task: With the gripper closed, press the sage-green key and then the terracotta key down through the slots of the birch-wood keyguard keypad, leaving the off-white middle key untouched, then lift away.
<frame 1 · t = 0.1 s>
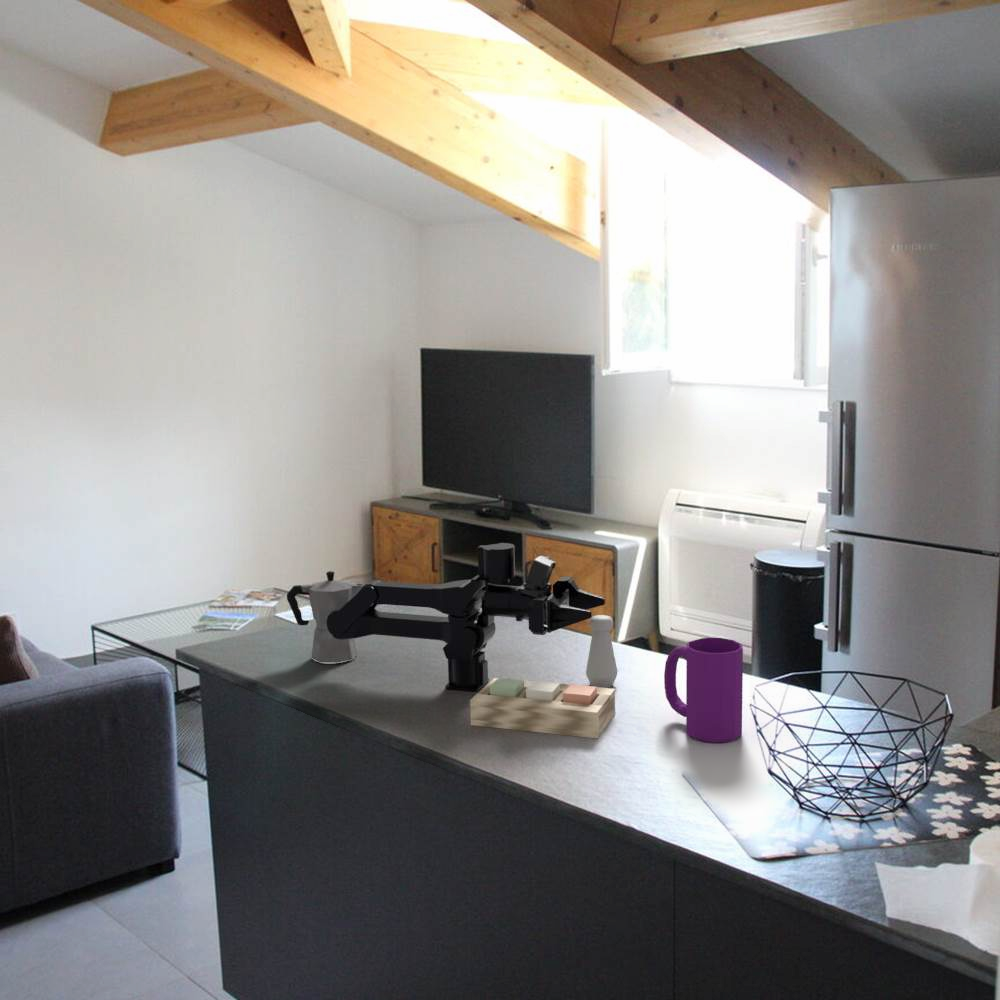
hand: (598, 608, 204), 17 cm above the worktop, tool horizontal, fingers open, 9 cm apart
salt shaker: (601, 685, 214), on the worktop
sage key: (507, 692, 199), point 4 cm above the worktop, slide at 0.0 cm
middle key: (543, 696, 196), point 4 cm above the worktop, slide at 0.0 cm
keypad: (543, 719, 197), on the worktop
coffeepot: (329, 659, 234), on the worktop
terracotta key: (580, 699, 194), point 4 cm above the worktop, slide at 0.0 cm
mug: (699, 729, 191), on the worktop
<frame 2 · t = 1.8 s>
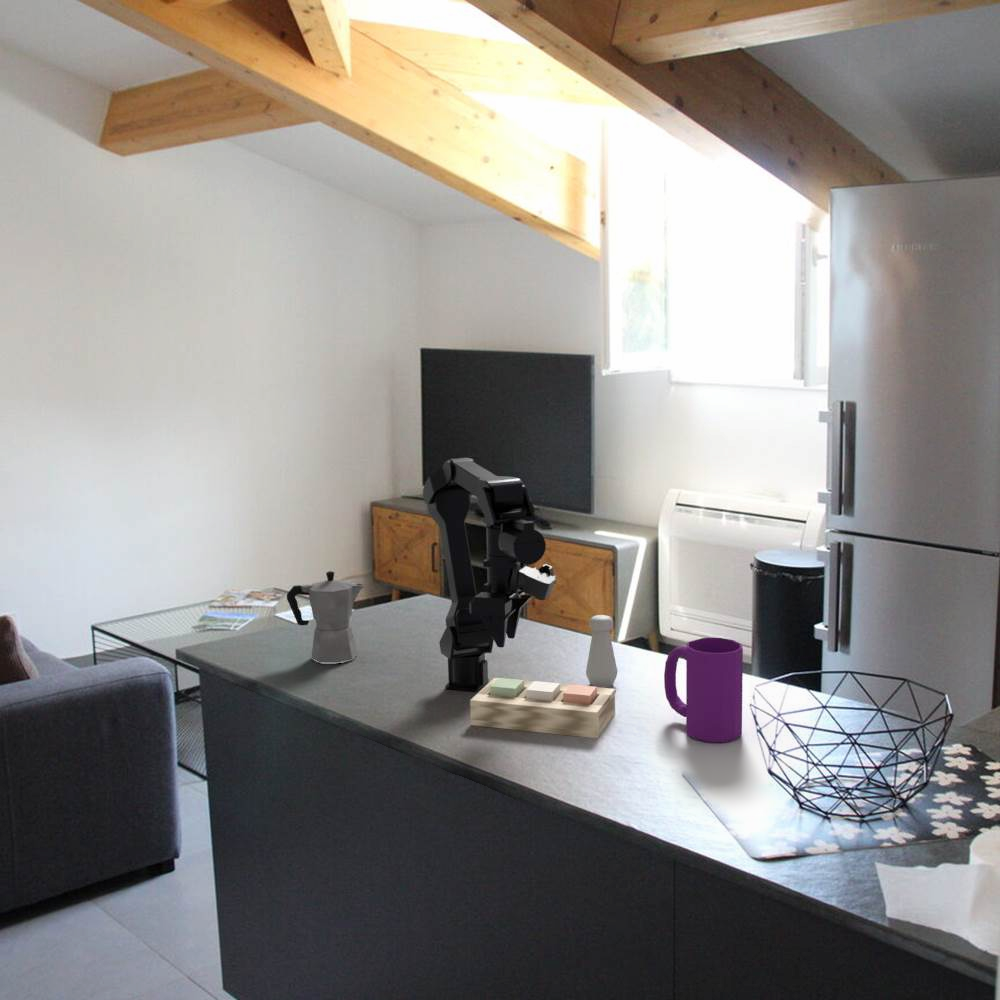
hand: (506, 642, 197), 13 cm above the worktop, tool pointing down, fingers open, 5 cm apart
nothing on the worktop moved.
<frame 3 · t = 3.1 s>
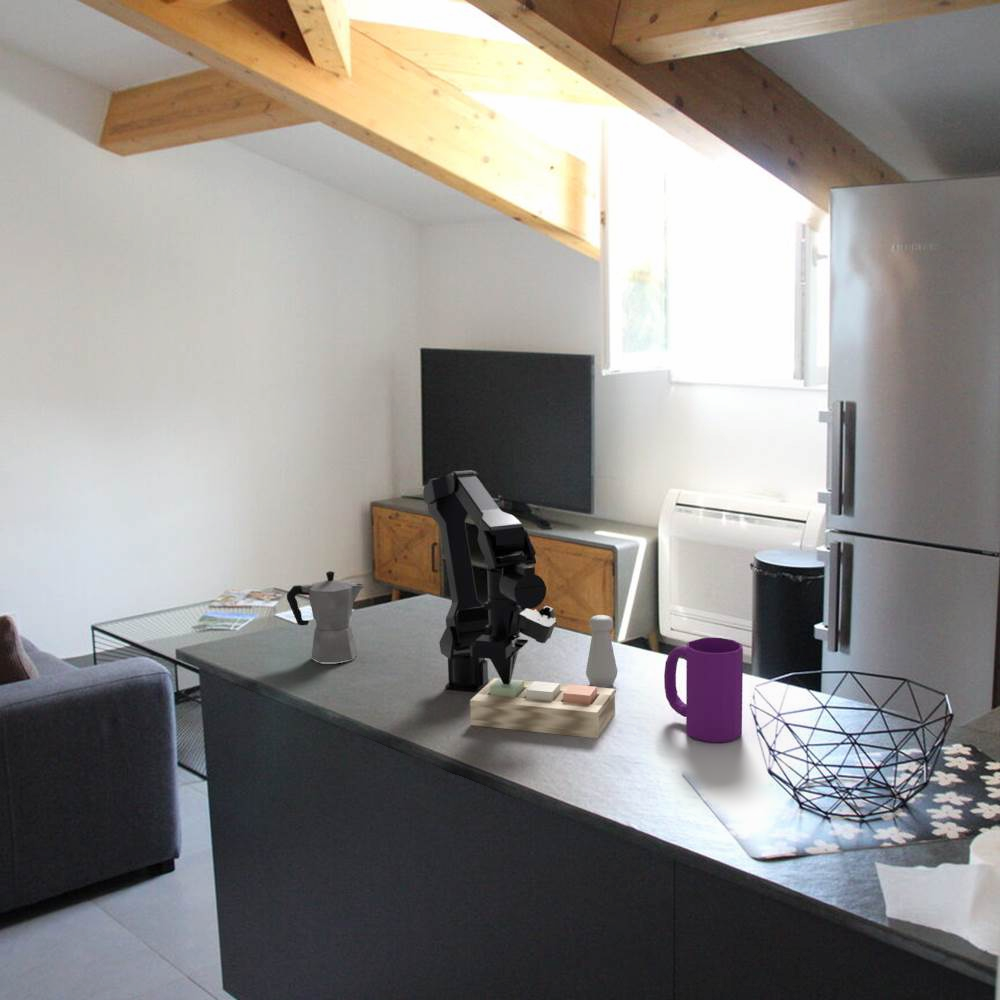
hand: (506, 683, 198), 6 cm above the worktop, tool pointing down, fingers closed, pressing on sage key
sage key: (507, 693, 199), point 4 cm above the worktop, slide at 0.1 cm, touching gripper
everything else where it was.
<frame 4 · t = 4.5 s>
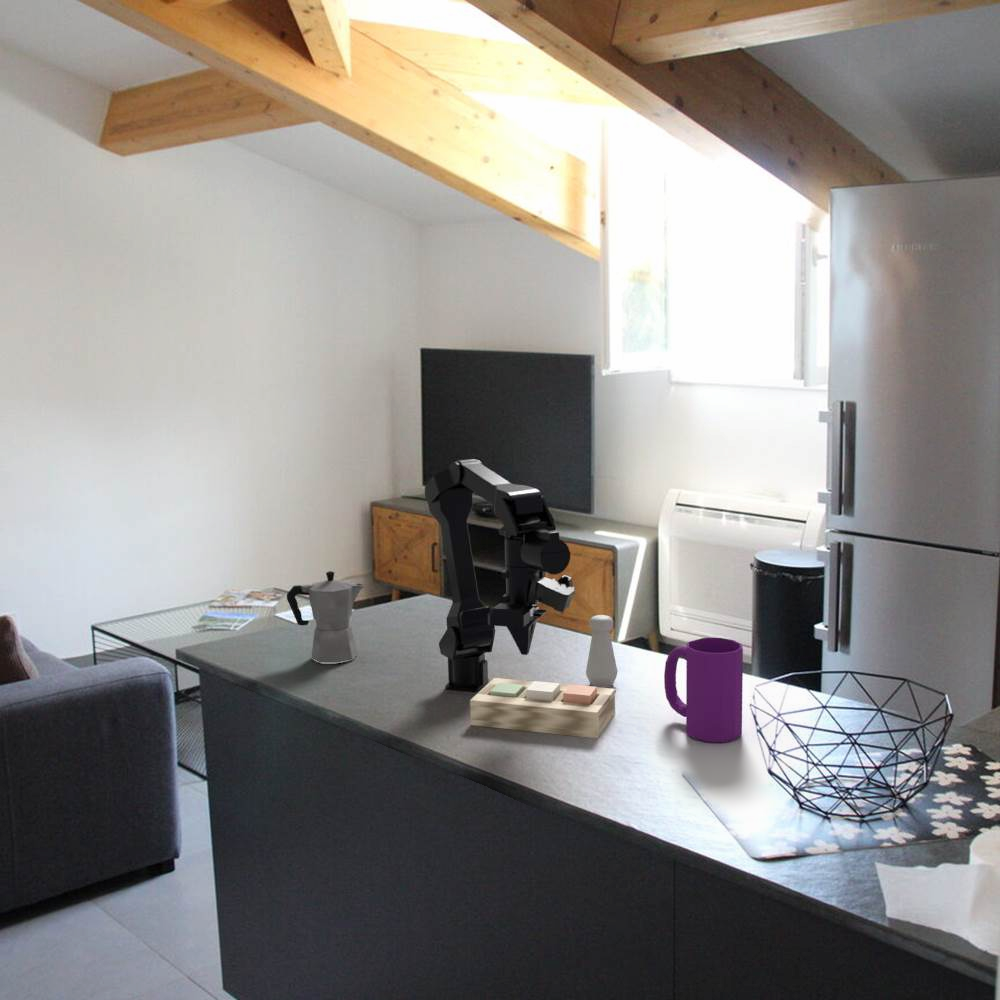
hand: (525, 654, 196), 11 cm above the worktop, tool pointing down, fingers closed
sage key: (507, 697, 199), point 3 cm above the worktop, slide at 0.9 cm
everything else where it was.
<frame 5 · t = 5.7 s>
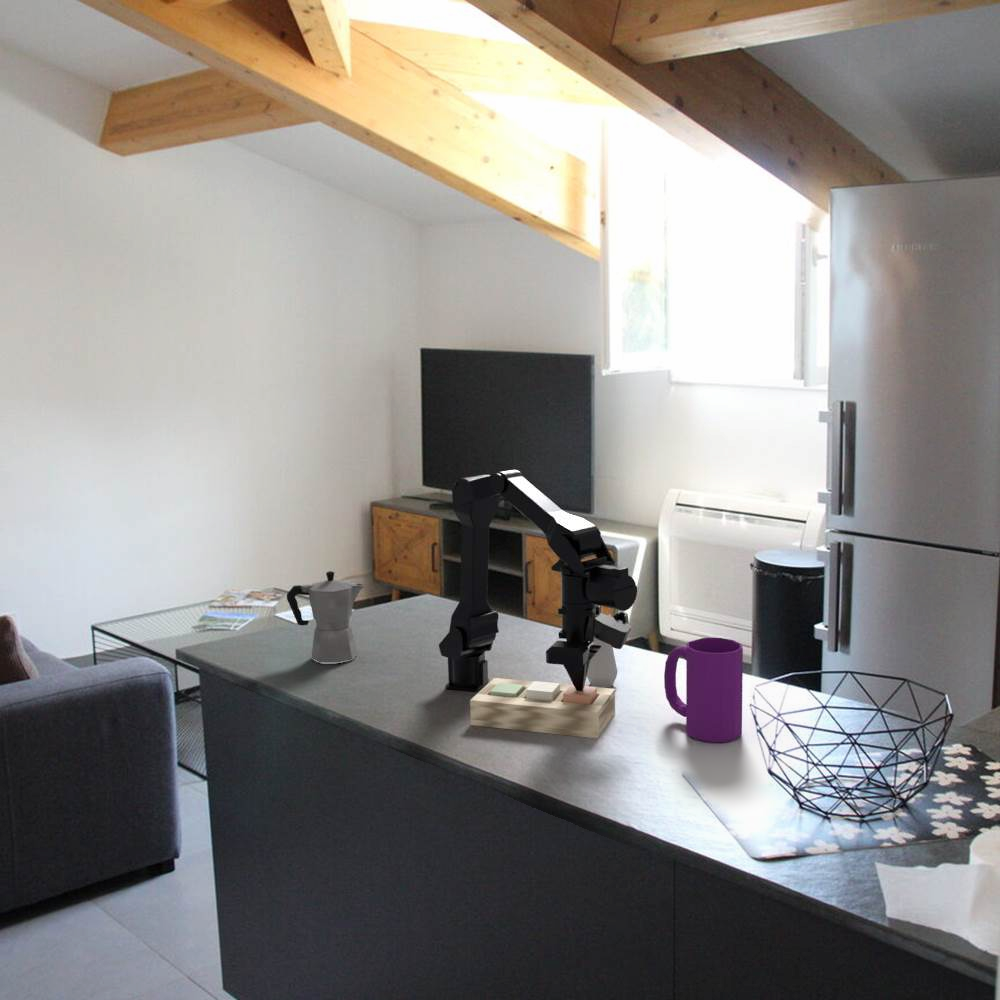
hand: (579, 690, 194), 6 cm above the worktop, tool pointing down, fingers closed, pressing on terracotta key
terracotta key: (580, 699, 194), point 4 cm above the worktop, slide at 0.1 cm, touching gripper
everything else where it was.
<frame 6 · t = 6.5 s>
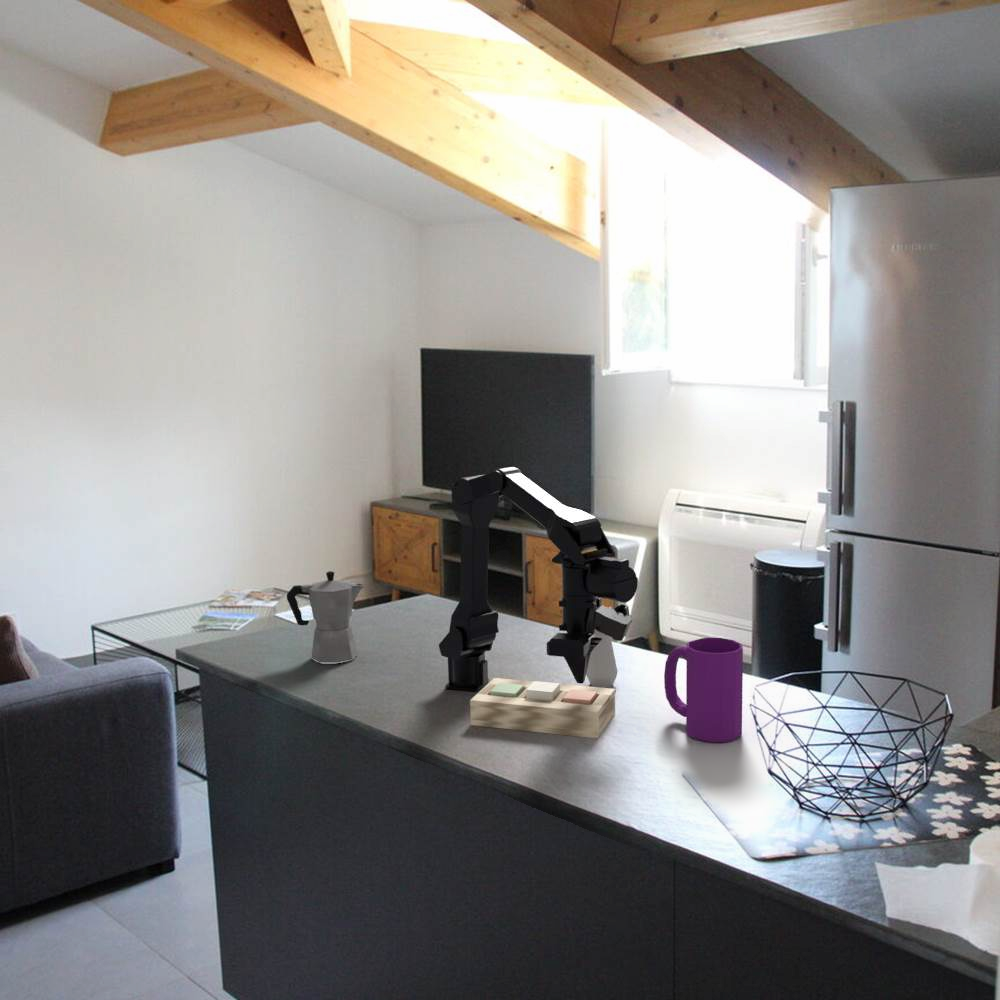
hand: (580, 682, 194), 7 cm above the worktop, tool pointing down, fingers closed
terracotta key: (580, 704, 194), point 3 cm above the worktop, slide at 0.9 cm
everything else where it was.
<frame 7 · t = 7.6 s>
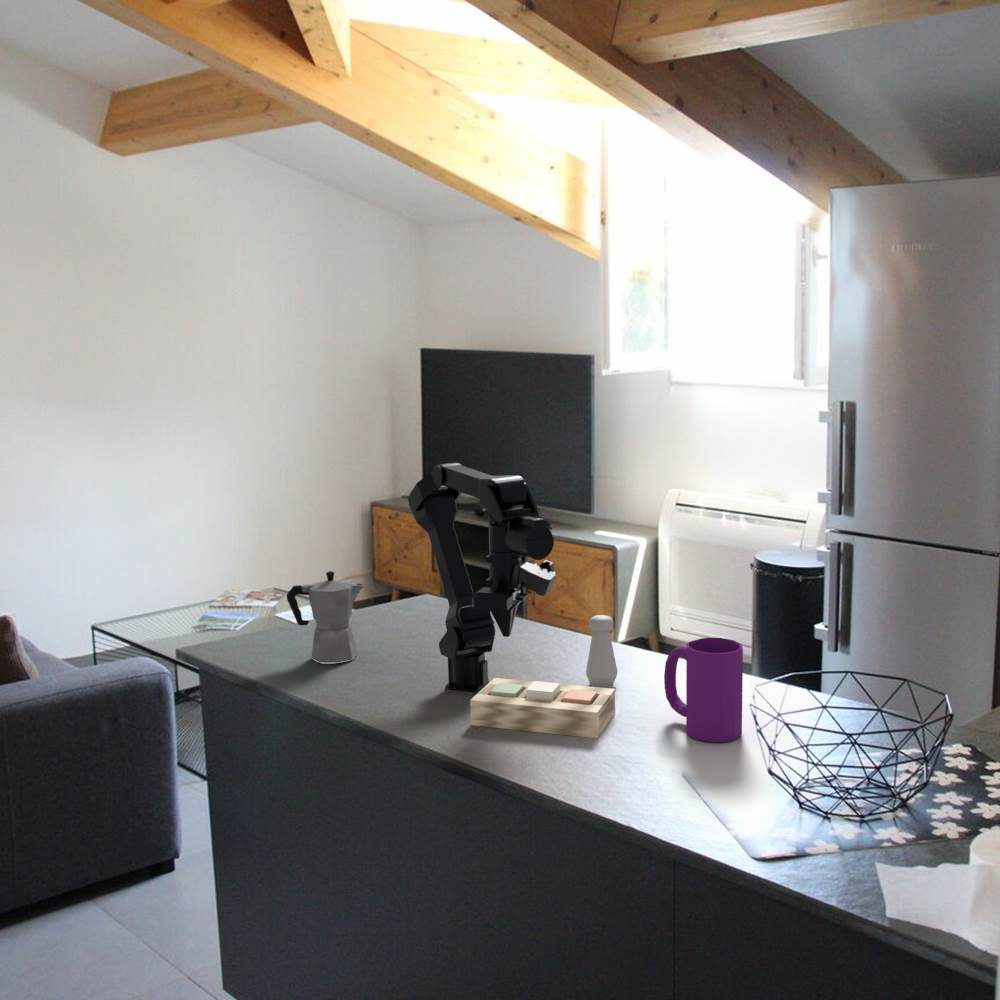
hand: (506, 636, 202), 13 cm above the worktop, tool pointing down, fingers closed
nothing on the worktop moved.
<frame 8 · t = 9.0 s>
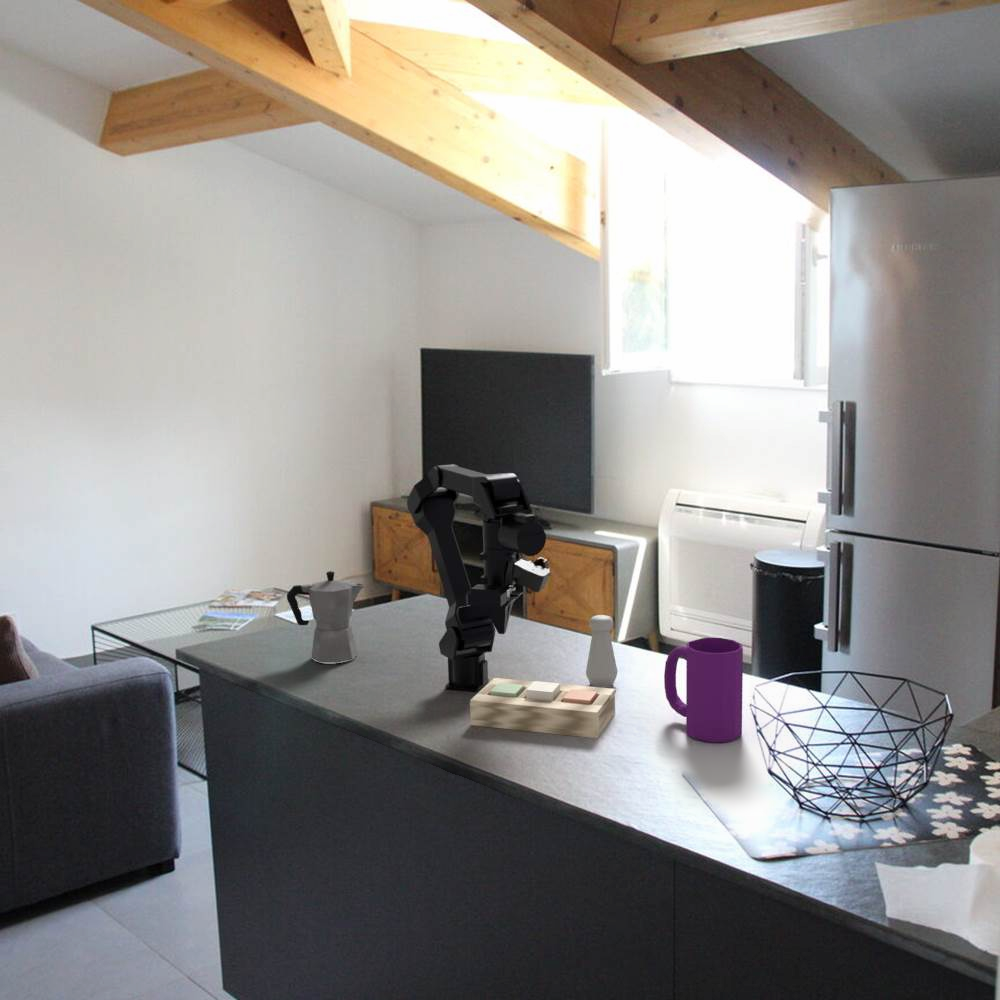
hand: (502, 633, 203), 13 cm above the worktop, tool pointing down, fingers closed
nothing on the worktop moved.
at the end: sage key slide at 0.9 cm; terracotta key slide at 0.9 cm; middle key slide at 0.0 cm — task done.
